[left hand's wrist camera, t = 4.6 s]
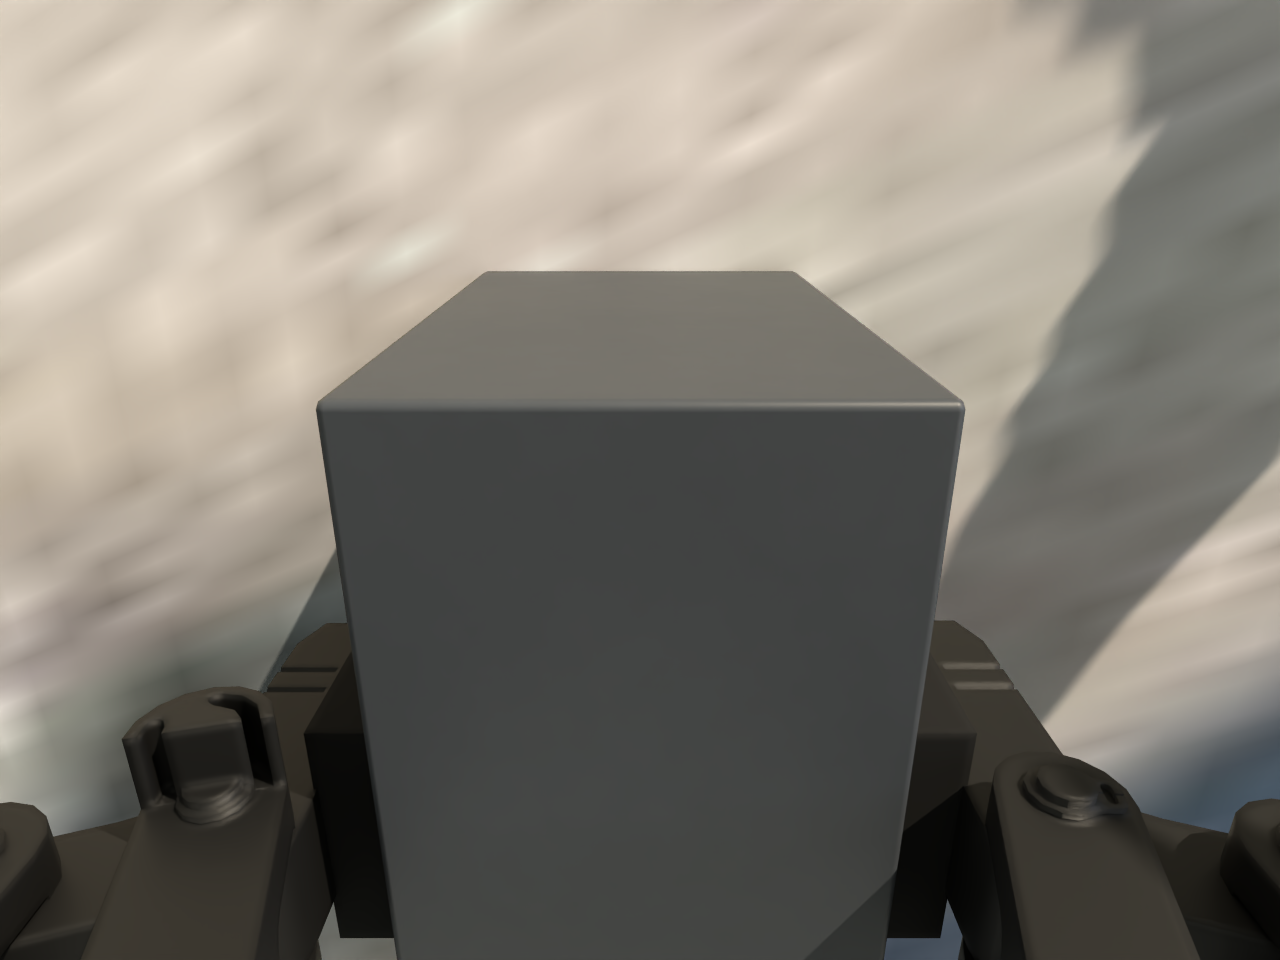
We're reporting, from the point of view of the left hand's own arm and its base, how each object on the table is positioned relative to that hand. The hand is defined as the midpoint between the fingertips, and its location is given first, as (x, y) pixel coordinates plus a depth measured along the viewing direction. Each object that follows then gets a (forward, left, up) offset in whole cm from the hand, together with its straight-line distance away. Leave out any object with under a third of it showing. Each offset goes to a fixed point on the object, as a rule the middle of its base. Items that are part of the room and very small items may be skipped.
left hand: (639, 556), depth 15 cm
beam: (+8, +25, -1) cm, 26 cm away
